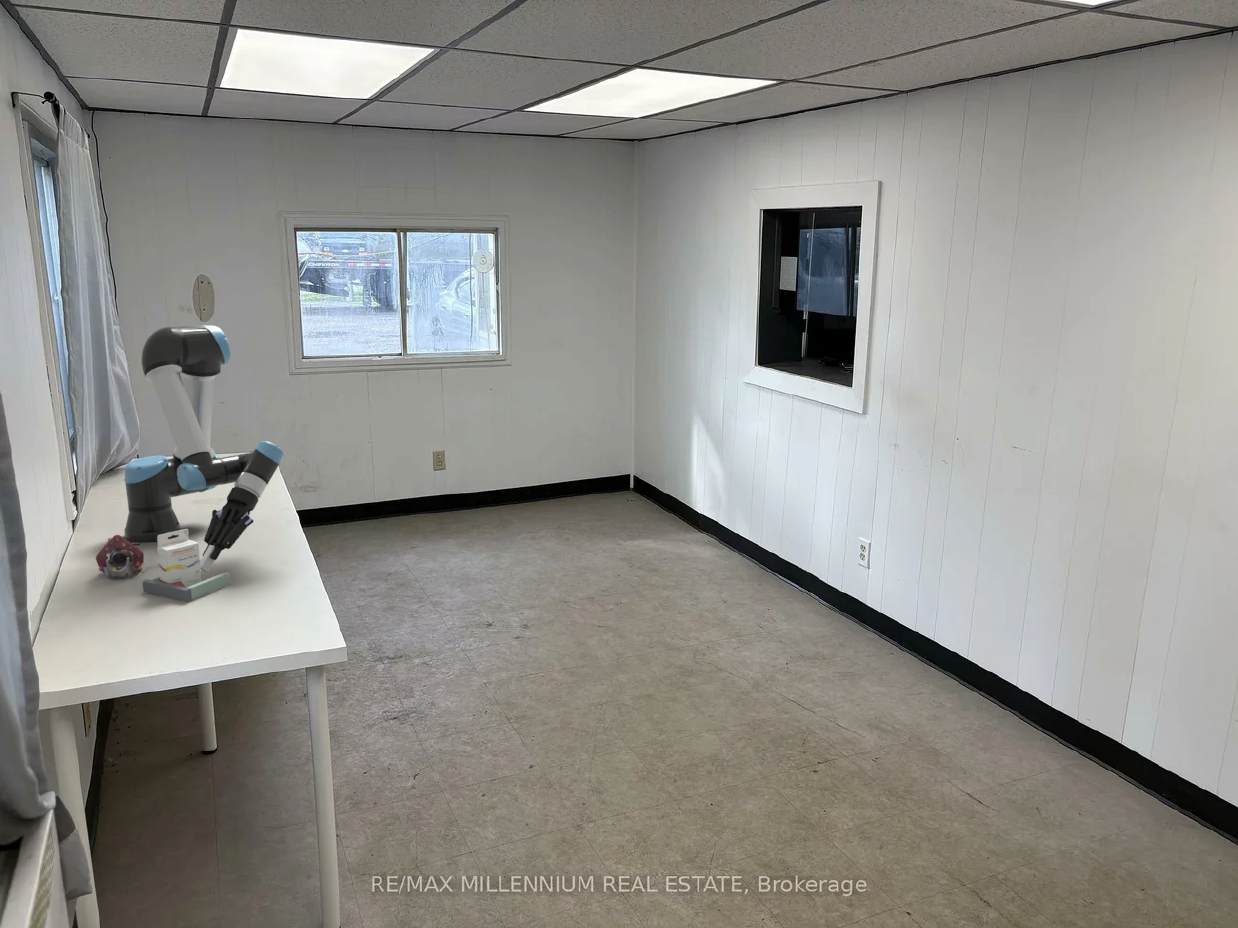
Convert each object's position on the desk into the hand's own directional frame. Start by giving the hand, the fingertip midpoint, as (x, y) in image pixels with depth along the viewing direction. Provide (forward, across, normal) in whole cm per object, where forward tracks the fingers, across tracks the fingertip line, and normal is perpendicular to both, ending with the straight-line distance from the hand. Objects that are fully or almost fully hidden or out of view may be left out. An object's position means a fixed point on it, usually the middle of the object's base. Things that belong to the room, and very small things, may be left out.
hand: (202, 569), depth 236 cm
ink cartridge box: (+7, +1, +1) cm, 7 cm away
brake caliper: (+6, +24, +1) cm, 25 cm away
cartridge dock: (+6, 0, +1) cm, 6 cm away
